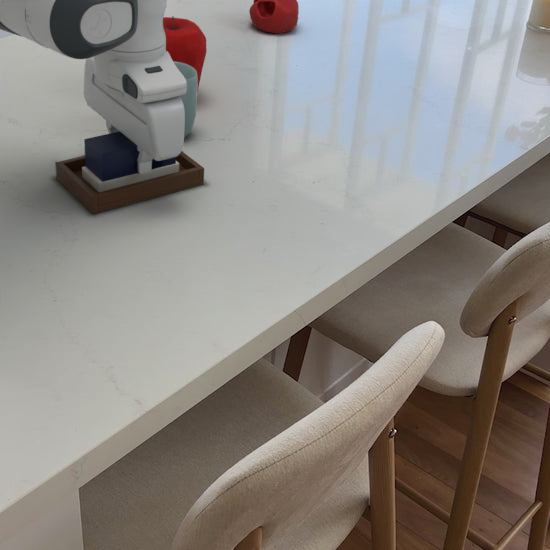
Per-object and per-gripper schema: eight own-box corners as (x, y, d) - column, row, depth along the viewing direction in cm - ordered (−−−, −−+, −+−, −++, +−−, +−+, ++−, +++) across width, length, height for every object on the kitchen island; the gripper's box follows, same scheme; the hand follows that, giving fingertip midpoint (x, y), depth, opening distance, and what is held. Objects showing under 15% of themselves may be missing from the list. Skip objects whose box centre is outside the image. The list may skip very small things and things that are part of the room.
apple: (125, 98, 142) (123, 14, 134) (168, 81, 149) (170, 1, 141) (173, 118, 137) (175, 33, 129) (216, 100, 144) (220, 18, 136)
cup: (204, 140, 132) (207, 76, 126) (158, 150, 128) (158, 85, 122) (179, 119, 137) (180, 57, 131) (133, 129, 133) (133, 65, 127)
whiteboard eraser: (99, 193, 114) (98, 155, 111) (81, 177, 118) (80, 139, 114) (179, 173, 121) (180, 136, 118) (160, 157, 124) (160, 121, 121)
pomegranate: (285, 18, 181) (289, -29, 176) (306, 35, 174) (311, -13, 168) (240, 21, 177) (243, -27, 172) (259, 38, 170) (263, -11, 165)
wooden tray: (93, 214, 112) (92, 197, 111) (56, 178, 119) (55, 162, 117) (203, 184, 121) (204, 168, 119) (163, 152, 127) (164, 137, 126)
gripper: (69, 38, 115) (74, 135, 123) (148, 96, 102) (148, 200, 110) (112, 31, 118) (115, 126, 126) (194, 86, 105) (191, 188, 113)
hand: (131, 161), depth 118 cm, fingers closed on whiteboard eraser, 5 cm apart
